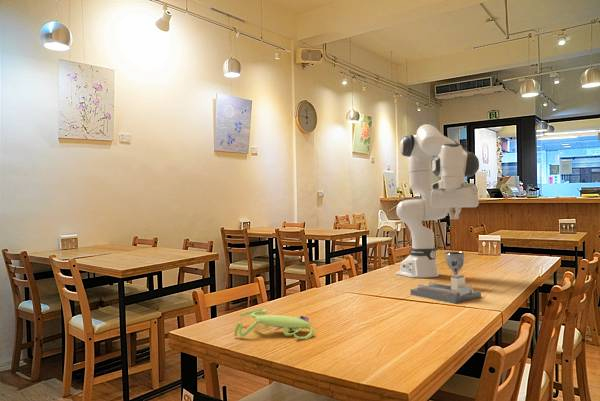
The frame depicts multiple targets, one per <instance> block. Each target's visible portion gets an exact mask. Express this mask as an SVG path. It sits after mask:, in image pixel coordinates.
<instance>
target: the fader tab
mask: <svg viewBox="0 0 600 401" xmlns="http://www.w3.org/2000/svg"><path fill="white" fill-rule="evenodd" d="M450 285H451V290H454V291H457V288H459V287H464V286H466V277H465V275H464V274H459V273H458V274H457V275H451V277H450Z"/></svg>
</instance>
